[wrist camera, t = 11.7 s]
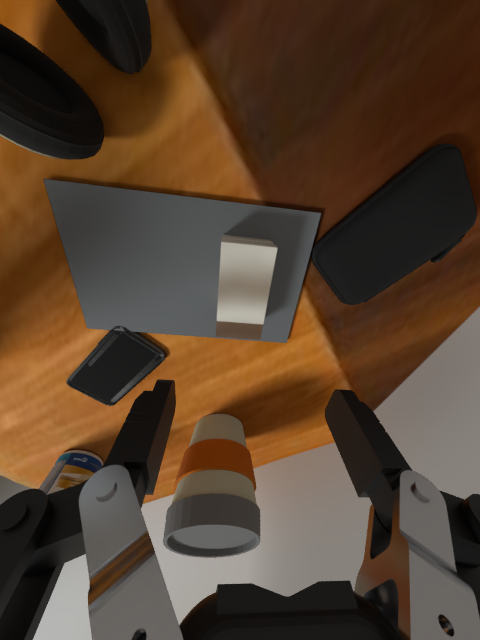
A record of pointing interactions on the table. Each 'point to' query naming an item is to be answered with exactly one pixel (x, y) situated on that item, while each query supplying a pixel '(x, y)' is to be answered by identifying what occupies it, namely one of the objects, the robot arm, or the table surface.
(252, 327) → the tall grey rectangular block
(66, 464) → the beverage bottle
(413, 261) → the carrying case or bag
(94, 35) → the headphones
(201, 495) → the reusable coffee cup
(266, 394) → the table surface
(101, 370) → the phone
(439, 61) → the table surface
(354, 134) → the table surface
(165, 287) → the mat
